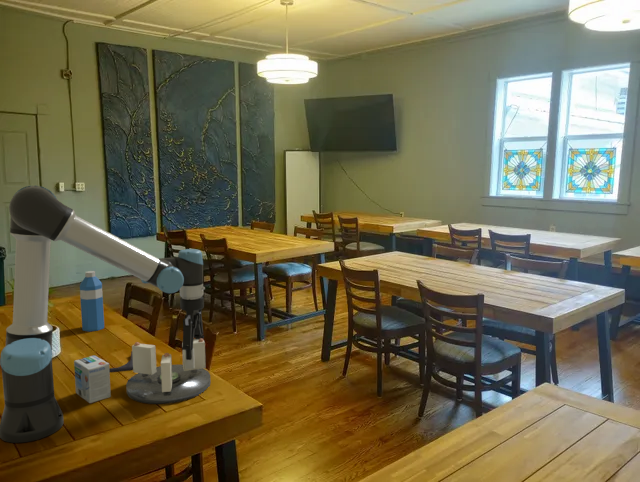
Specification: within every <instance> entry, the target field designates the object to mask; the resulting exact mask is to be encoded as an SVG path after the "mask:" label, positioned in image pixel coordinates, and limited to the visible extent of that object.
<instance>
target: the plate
mask: <svg viewBox="0 0 640 482" xmlns="http://www.w3.org/2000/svg"><path fill="white" fill-rule="evenodd" d="M156 371H157V372H156V373H154V374H152V375H149V374H148V376H146V377H142V373H136V374H134V375H132V376H131V377H130V378H128V380H127V382H126V385H125V387H126V389H125V390H126V394H127V395H126V396H128V397H129V399H131V400H133V401H136V402H138V403H143V404H148V405H149V404H150V405H167V404H175V403H179V402H183V401H188V400H190V399H191V400H192V399H193V398H196V397H198V396H200V395H201V393H202V392H203V393H205V392H206V391H207V390H208V389H209V388H210V386H211V374H210V372H209V371H208V370H207V369H206V368H202V369H197V372H196V373H192V372H191V370H188V371H184V370H183V364H172V388H171V391H170V392H162V380H161V365H160V366H156ZM208 387H209V388H208ZM207 388H208V389H207ZM206 389H207V390H206ZM205 390H206V391H205ZM204 391H205V392H204ZM203 393H202V394H203ZM199 394H200V395H199ZM195 396H196V397H195ZM187 399H188V400H187Z"/></svg>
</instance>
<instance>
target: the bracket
mask: <svg viewBox="0 0 640 482" xmlns="http://www.w3.org/2000/svg"><path fill="white" fill-rule="evenodd" d="M127 371H133V356H132V350H131V352H130V360H129V361H128V362H127V363H125V364H123V365H121V366H118V367H111V368H110V367H109V372H110V373H116V372H127Z"/></svg>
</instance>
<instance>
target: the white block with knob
mask: <svg viewBox="0 0 640 482" xmlns="http://www.w3.org/2000/svg"><path fill="white" fill-rule="evenodd" d="M172 361H173V360H172V354H171V353H169V352H165V353H164V354H162V356H161V361H160V366H161V380H162V392H170V391H171V388H172V365H173V363H172Z"/></svg>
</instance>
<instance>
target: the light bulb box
mask: <svg viewBox="0 0 640 482" xmlns="http://www.w3.org/2000/svg"><path fill="white" fill-rule="evenodd" d="M73 366H74V381H75V383H74V384H75V393H76V394H77V395H78V396H79V397H80V398H82V399H83V400H85V401H86V402H87V403H89V404H93V403H96V402H98V401H101V400H105V399H108V398H111V397H112V395H111V393H112V392H111V376H110V373H111V372H109V368H110V363H109V362H107V361H105V360H104V359H102V358H100V357H98V356H97V355H89V356H87V357H83V358H80V359H76V360H74V361H73Z"/></svg>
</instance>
